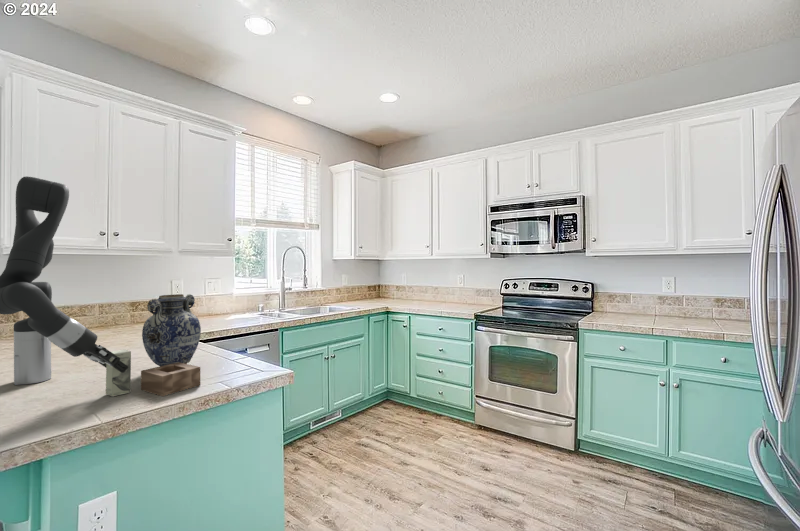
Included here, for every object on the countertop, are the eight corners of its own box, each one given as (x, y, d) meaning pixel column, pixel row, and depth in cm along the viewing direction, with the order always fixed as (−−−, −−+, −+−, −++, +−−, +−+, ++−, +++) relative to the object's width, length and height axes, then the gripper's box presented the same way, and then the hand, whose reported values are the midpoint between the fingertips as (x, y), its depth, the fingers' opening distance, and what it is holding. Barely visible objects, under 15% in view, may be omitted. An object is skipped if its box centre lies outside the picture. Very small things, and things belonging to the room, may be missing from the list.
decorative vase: (172, 380, 133) (171, 297, 133) (126, 378, 137) (124, 297, 137) (214, 365, 154) (213, 292, 154) (173, 363, 157) (172, 292, 157)
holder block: (162, 396, 118) (162, 376, 118) (141, 389, 124) (140, 370, 124) (200, 385, 128) (200, 367, 128) (178, 379, 134) (178, 362, 134)
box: (112, 397, 117) (111, 353, 117) (105, 394, 120) (105, 352, 119) (131, 392, 122) (131, 350, 122) (125, 389, 124) (124, 348, 124)
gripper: (94, 327, 109) (139, 360, 119) (72, 323, 116) (116, 354, 126) (71, 350, 105) (120, 382, 115) (49, 345, 112) (97, 375, 122)
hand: (118, 368), depth 120 cm, fingers open, 8 cm apart
